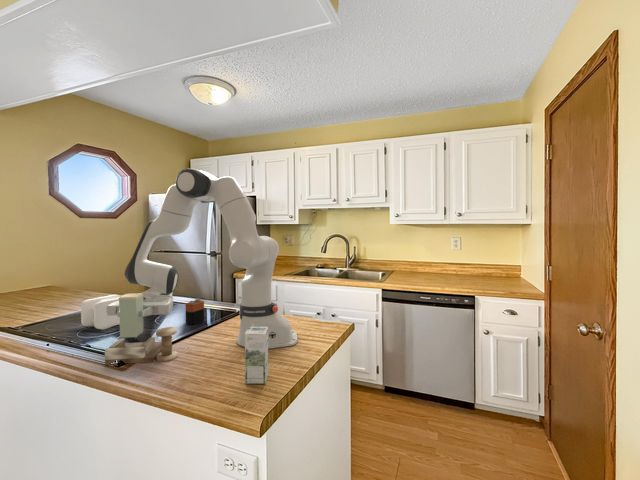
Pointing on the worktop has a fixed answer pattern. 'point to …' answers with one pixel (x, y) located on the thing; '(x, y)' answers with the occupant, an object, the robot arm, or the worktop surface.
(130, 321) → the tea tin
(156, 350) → the winding board
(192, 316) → the battery
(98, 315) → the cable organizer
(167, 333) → the bobbin
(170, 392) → the worktop surface
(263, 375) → the syrup box
